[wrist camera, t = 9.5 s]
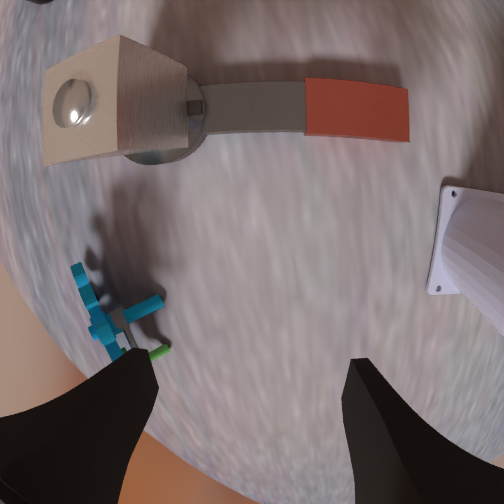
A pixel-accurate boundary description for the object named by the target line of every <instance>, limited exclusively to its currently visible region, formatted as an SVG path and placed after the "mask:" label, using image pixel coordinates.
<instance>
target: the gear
mask: <svg viewBox="0 0 504 504" xmlns="http://www.w3.org/2000/svg"><path fill="white" fill-rule="evenodd" d="M71 270H72V273H73V276H74V279H75V281H76V284H77V286H78V288H79V289H78V290H79V293H80V295H81V298H82V300H83V302H84V305H85V307H86V309H87V310H88V312H89V314H90V316H91V318H90V321H91V324H92V326H90V327H88V329H89V332H90V334H91V336H92V338H93V340H96V339H98V338H99V340H100V342H101V344H103V345H104V346H105V348H106V349H107V351H108V353H109V355H110V358H111V360H112V362H113V361H115V360H116V359H117V358H119V357H120V356H121V355H123V354H124V353H126V352H127V351H126V349H125V347H124V348H122V349H120V347H119V346H118V344H117V342H116V339H115V338H117V337H116V334H119V333H121V332H124V334H125V336H126V338H127V340H128V342H129V344H130V346H131V348H133V347H134V348H138V346H137V343H136V341H135V339H134V337H133V335H132V332H131V330H130V328H129V326H128V324H129V323H131V322H133V321H135V320H137V319H139V318H141V317H144V316H146V315H148V314H150V313H152V312H154V311H156V310H158V309H160V308H162V307H164V305H163V302H162V299H161V298H160V296H159V295H158V294H157V295H155V296H153V297H151V298H149V299H147V300H144V301H142V302H140V303H138V304H136V305H134V306H132V307H130V308H128V309H125V310H123V311H121V309H120V308H118V309H115V310H113V311H111V312H109V313H107V314H105V313H104V312H102V311H101V309H100V307H99V305H98V304H99V303H98V301H97V299H96V296H95V294H94V292H93V289H92V287H91V285H90V284H89V282H88V279H87V276H86V273H85V271H84V268H83V266H82V263H81V262H79V263H77V264H75V265H72V266H71ZM168 352H170V349H169V347H168V346H167V344H164V345H162V346H160V347H158V348H156V349H155V350H153V351H151V352H149V356H150V360H151V361H153V360H155V359H157V358H159V357H161V356H162V355H164V354H166V353H168Z"/></svg>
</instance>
